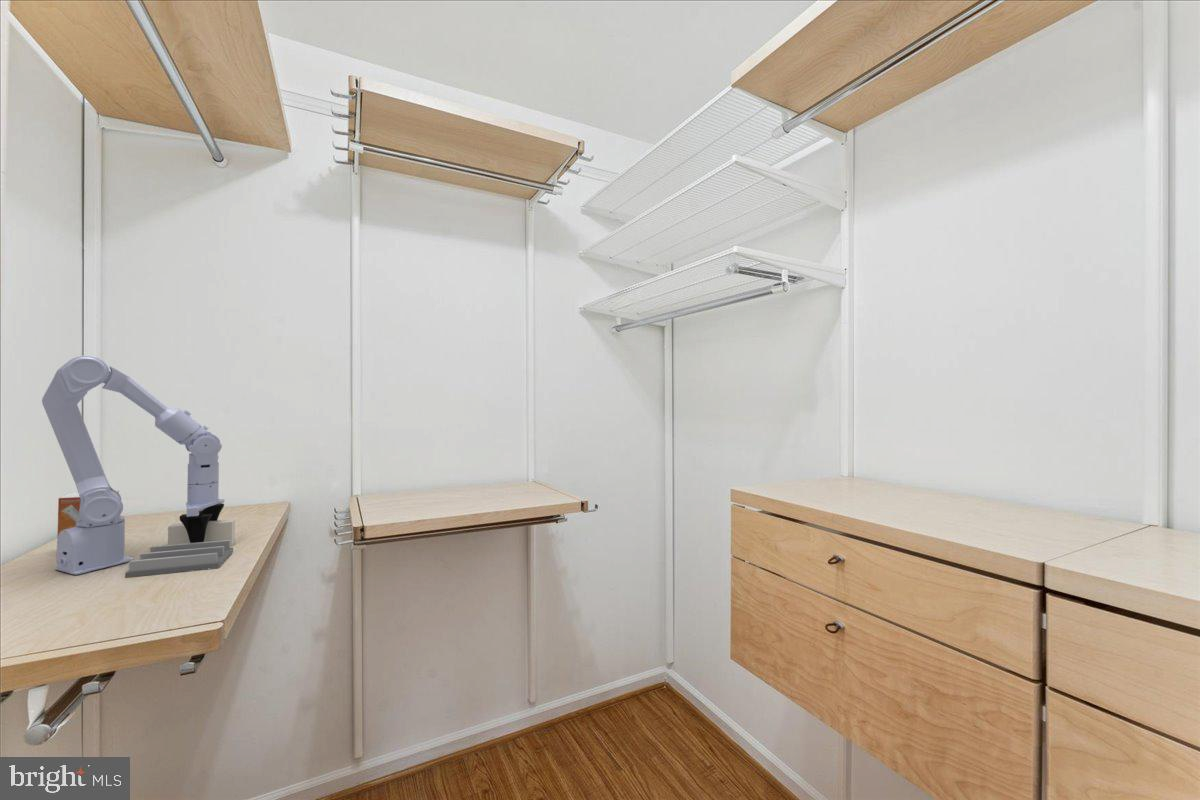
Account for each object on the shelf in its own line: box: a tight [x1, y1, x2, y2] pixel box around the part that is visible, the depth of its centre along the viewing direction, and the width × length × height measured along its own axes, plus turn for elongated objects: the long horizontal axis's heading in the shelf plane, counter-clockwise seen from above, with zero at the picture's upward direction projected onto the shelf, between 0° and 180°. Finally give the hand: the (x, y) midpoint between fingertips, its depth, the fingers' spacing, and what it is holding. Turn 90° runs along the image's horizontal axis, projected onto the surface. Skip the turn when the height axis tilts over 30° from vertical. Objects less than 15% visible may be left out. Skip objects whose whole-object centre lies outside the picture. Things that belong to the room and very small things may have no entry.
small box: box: [56, 490, 120, 540], centre depth 111 cm, size 8×6×13 cm
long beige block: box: [167, 519, 236, 547], centre depth 114 cm, size 12×3×6 cm, turn 115°
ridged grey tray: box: [124, 540, 234, 579], centre depth 103 cm, size 15×11×3 cm
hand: (202, 539), depth 114 cm, fingers open, 7 cm apart
